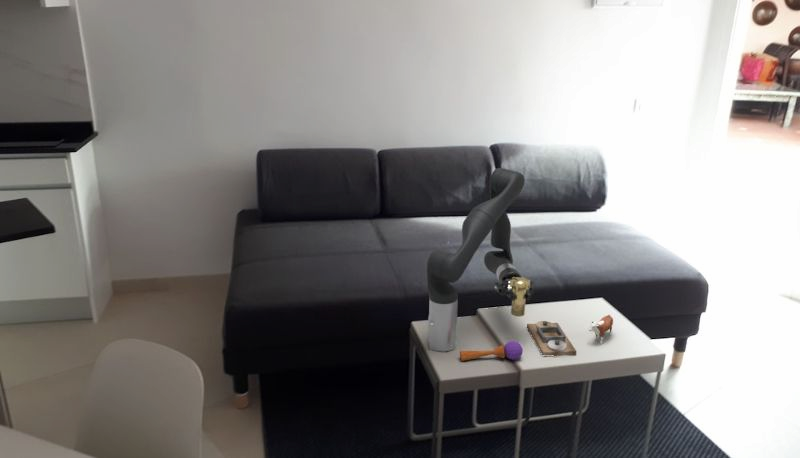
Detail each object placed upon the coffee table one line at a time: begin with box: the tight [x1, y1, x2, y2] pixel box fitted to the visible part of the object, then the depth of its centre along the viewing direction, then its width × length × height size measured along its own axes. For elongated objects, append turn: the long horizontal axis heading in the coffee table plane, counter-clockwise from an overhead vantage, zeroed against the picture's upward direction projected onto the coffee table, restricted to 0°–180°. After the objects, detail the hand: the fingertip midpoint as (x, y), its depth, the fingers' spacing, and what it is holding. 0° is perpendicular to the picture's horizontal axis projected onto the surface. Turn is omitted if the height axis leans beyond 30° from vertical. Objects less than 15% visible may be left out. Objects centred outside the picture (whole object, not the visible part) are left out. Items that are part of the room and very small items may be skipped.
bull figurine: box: [588, 314, 614, 345], centre depth 213 cm, size 4×13×8 cm, turn 135°
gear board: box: [526, 320, 577, 357], centre depth 213 cm, size 11×20×4 cm, turn 4°
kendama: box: [459, 340, 524, 362], centre depth 202 cm, size 6×6×20 cm
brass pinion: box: [510, 276, 531, 317], centre depth 207 cm, size 6×6×12 cm
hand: (521, 297), depth 204 cm, fingers closed on brass pinion, 4 cm apart
